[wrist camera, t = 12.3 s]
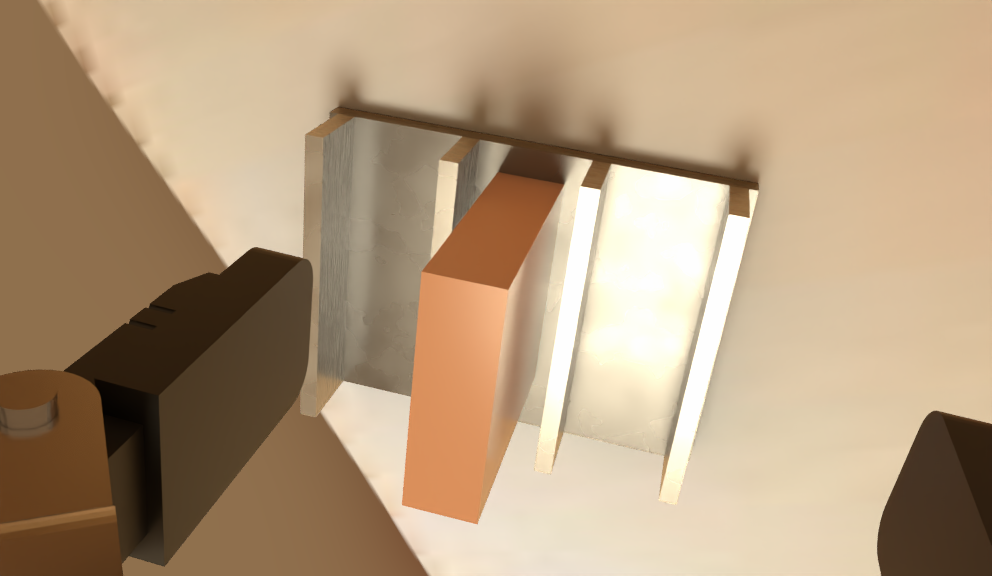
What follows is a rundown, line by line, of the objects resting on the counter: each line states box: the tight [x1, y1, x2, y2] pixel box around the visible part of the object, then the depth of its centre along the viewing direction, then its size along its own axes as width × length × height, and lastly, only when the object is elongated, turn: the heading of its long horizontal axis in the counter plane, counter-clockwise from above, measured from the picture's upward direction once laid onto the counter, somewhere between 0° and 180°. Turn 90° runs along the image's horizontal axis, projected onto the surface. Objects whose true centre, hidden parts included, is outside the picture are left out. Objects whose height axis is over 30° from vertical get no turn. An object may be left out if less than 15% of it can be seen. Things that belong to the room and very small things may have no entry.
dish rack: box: [300, 107, 759, 505], centre depth 41 cm, size 19×14×4 cm
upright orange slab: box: [402, 172, 564, 524], centre depth 37 cm, size 10×3×11 cm, turn 173°
